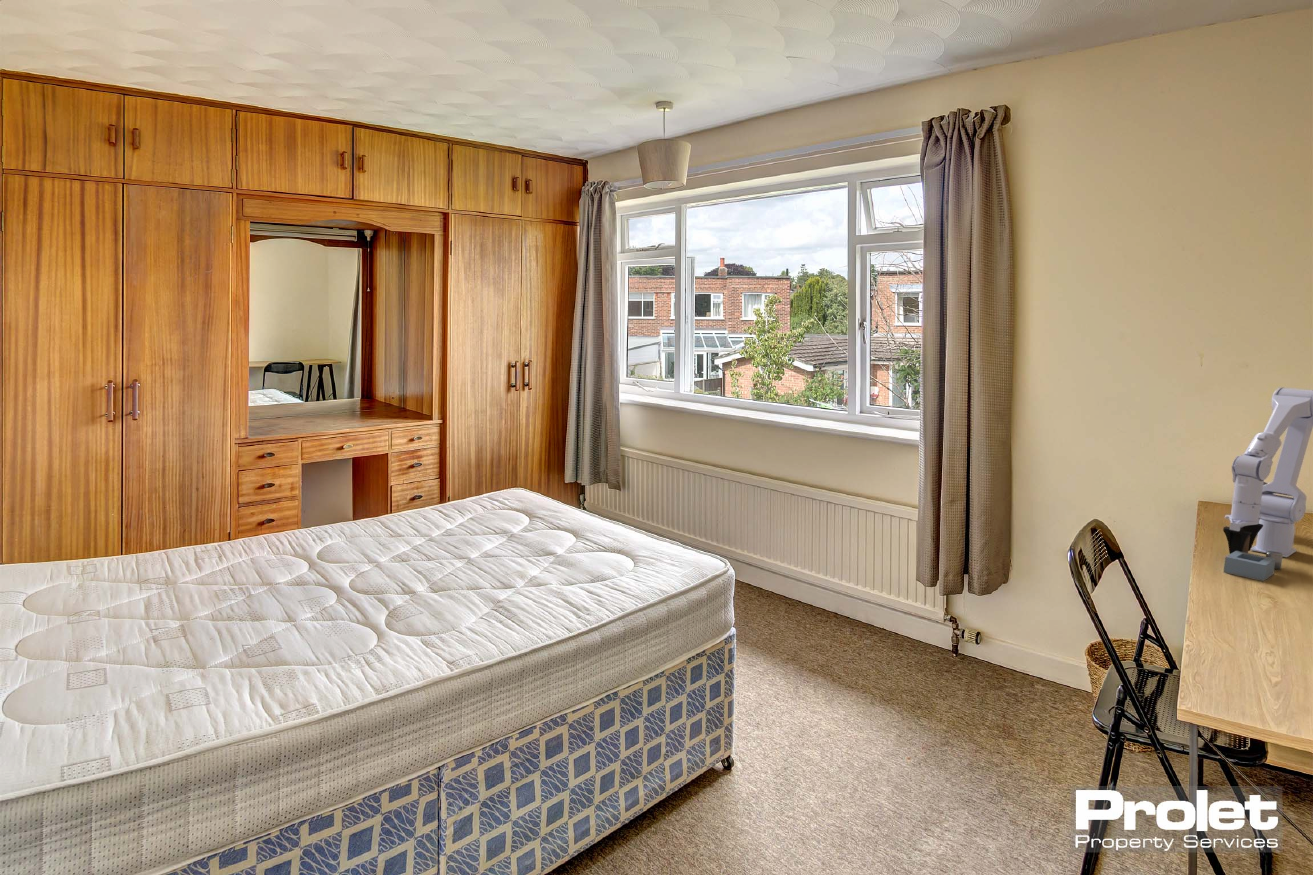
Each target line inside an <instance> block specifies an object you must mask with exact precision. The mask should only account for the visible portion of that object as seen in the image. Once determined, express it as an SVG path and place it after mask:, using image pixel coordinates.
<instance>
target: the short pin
mask: <svg viewBox="0 0 1313 875" xmlns="http://www.w3.org/2000/svg"><path fill="white" fill-rule="evenodd" d="M1265 557H1270V558H1275V567H1274V571H1282V570H1281V569H1282V563H1283V558H1284V557H1283V554H1282V553H1279V552H1275V551H1267V552H1266V553H1265Z"/></svg>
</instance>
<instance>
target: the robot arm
mask: <svg viewBox="0 0 1313 875" xmlns="http://www.w3.org/2000/svg"><path fill="white" fill-rule="evenodd" d="M1271 409H1272V413H1271V415H1270V417H1269V419H1268V421H1267V422H1266V426H1265V428H1264V429H1263V432H1259V433H1258V432H1257V433H1256V434H1255V435H1254V437H1253V438H1252V439H1251V442H1250V444H1248V446H1247V448H1246V450H1245V451H1244V452H1243V454H1241V455H1238V456H1236V457H1235V458H1234V459H1233V461H1232V465H1231V473H1232V482H1233V483H1234V487H1233V495H1232V503H1231V511H1230V512H1231V513H1230V514H1225V516H1224V519H1227V520H1229V522H1230V524H1229V526H1226V525H1224V526H1223V528H1222V531H1223V533H1224V534H1225V536H1226V537H1225V538H1226V540H1227V545H1228V552H1229V554H1231V553H1233V552H1235V551H1240V552H1242V551H1243V548H1244V545H1245V542H1246V540H1247V539H1248V537H1249V536H1250V541H1249V548H1248V552H1250V551H1252V552H1258V553H1262V554H1266V552H1267V551H1275V552H1279V553H1282V554H1283V557H1282V558H1289V557H1290V556H1291V555H1293V554H1294V553H1296V552H1297V551H1298V549H1297V548H1294V547H1293V546H1294V540H1295V532H1296V526H1295V523H1297V522H1299V521H1301V520H1302V519H1303V517H1304V516H1305V513H1306V509H1307V508H1306V503H1307V495H1306V494H1305V493H1304V491H1303V490H1302V489H1300V488H1299V487H1298V486H1297V483H1298V479H1299V477H1300V476H1299V475H1300V472H1301V470H1302V465H1303V462H1304V459H1305V455H1306V451H1307V448H1308V444H1309V441H1310V437H1311V434H1312V430H1313V389H1302V388H1301V389H1300V388H1289V387H1288V388H1287V387H1286V388H1285V387H1282V386H1281V387H1278V388H1276V389H1275V390H1274V391H1273V393H1272V396H1271ZM1284 433H1285V436H1284V440H1283V442H1282V441H1281V437H1282V435H1283V434H1284ZM1281 446H1282V447H1281ZM1280 447H1281V450H1280V454H1279V458H1278V460H1277V464H1276V467H1275V471H1274V474H1273V479H1272V481H1271V482H1267V483H1268V484H1266V485H1263V483H1264V482H1265V480H1267V478H1268V477H1269V475H1270V473H1271V470H1272V466H1273V463H1274V462H1273V458H1274V457H1276V456H1275V455H1276V454H1277V452H1278V451H1279V449H1280ZM1259 518H1260V520H1259ZM1255 540H1256V542H1255ZM1254 542H1255V543H1256V545H1254ZM1253 545H1254V546H1253Z"/></svg>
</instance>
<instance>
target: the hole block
mask: <svg viewBox="0 0 1313 875" xmlns="http://www.w3.org/2000/svg"><path fill="white" fill-rule="evenodd" d="M1224 558H1225V559H1224V565H1223V573H1226V574H1229V575H1235V576H1238V577H1243V578H1248V579H1252V580H1257V581H1261V582H1265V581H1266V580H1267V579H1269V578H1270V577H1272V576H1273V575H1274V573H1275V570H1274V567H1275V558H1270V557H1266V555H1265V556H1264V555H1259V554H1254V553H1249V552H1248V553H1245V552H1240V551H1235V552H1233V553H1231V554H1230V553H1229V554H1228V555H1226V556H1225V557H1224Z"/></svg>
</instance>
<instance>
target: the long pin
mask: <svg viewBox="0 0 1313 875" xmlns="http://www.w3.org/2000/svg"><path fill="white" fill-rule="evenodd" d="M1249 541H1250V536H1249V537H1248V539H1247V540H1246V542H1245V545H1244V548H1243V551H1242V552H1245V553H1249V551H1248V548H1249Z"/></svg>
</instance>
